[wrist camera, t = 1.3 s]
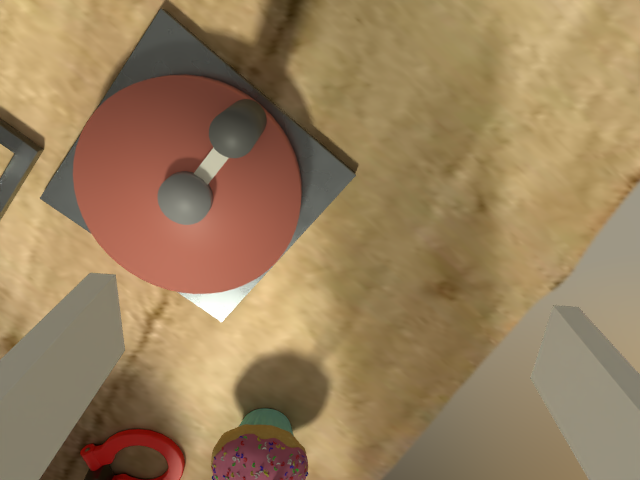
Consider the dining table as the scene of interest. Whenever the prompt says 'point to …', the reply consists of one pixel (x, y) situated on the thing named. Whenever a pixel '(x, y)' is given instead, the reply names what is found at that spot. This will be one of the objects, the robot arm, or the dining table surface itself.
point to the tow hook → (100, 456)
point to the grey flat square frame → (15, 163)
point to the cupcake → (260, 450)
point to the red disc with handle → (188, 183)
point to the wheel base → (197, 59)
